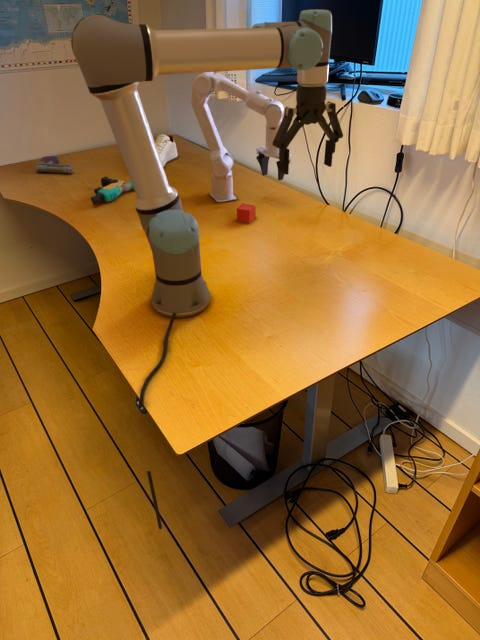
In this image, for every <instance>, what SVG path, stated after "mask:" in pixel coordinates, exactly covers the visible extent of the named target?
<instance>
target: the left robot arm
mask: <svg viewBox="0 0 480 640" xmlns="http://www.w3.org/2000/svg"><path fill="white" fill-rule="evenodd" d="M332 34H333V15H332V12H331V10H328V9H306V10H305V9H304V10H301V11H300V13H299V18H298V20H295V21H275V22H273V21H271V22H270V21H269V22H268V21H264V22H259V23H255V24H253V25H252V26H251V27H242V28H240V27H238V28H237V27H236V28H200V29H197V28H196V29H158V30H157V29H156V30H155V29H153V28H151V27H150V26H149V25H148V24H145V23H144V24H140V23H139V24H134V23H126V22H121V21H117V20H116V19H115V18H113V17H112V16H110V15H107V14H103V13H98V12H97V13H89V14H88V15H85V16H83V17H82V18H80V19H79V20H77V22H76V24H75V25H74V27H73V29H72V32H71V36H70V45H71V51H72V54H73V55H74V58H75V60H76V62H77V65H78V67H79V69H80V71H81V74H82V77H83V79H84V82H85V84H86V86H87V89H88V93H89V94H90V95H91V96H92V97H95V98H96V99H98V100H99V101H100V103H101V106H102V109H103V111H104V114H105V117H106V119H107V123H108V124H109V127H110V129H111V132H112V134H113V137H114V140H115V143H116V145H117V148H118V150H119V152H120V155H121V158H122V161H123V163H124V166H125V169H126V171H127V173H128V176H129V179H130V181H132V184H133V187H134V189H135V190H134V192H135V194H136V198H135V200H134V202H133V205H134V209H135V210H136V213H137V216H138V218H139V221H140V225H141V227H142V229H143V231H144V234H145V236H146V239H147V241H148V245H149V247H150V250H151V253H152V260H153V261H152V262H153V268H154V274H155V275H154V276H155V281H154V284H153V290H152V294H151V305H152V308H153V310H154V311H155V312H156V313H157V314H159V315H160V316H163V317H167V318H170V320H169V323H168V327H167V329H166V332H165V335H164V340H163V349H162V350H163V351H162V355H161V358H160V360H159V362H158V363H157V365H155V367H154V368H153V369H152V371H151V372H150V373H149V374H148V375H147V377H146V378H145V380H144V383H143V384H142V387H141V389H140V392H139V394H140V395H139V401H138V407H139V409H142V408H143V407H144V399H145V392H146V389H147V387H148V384H149V382H150V381H151V379H152V378H153V376H154V375H155V374H156V373H157V372H158V371H159V369H160V368H161V367H162V365H163V363H164V362H165V359H166V356H167V352H168V341H169V336H170V333H171V330H172V328H173V325H174V322H175V319H183V318H185V319H186V318H190V317H194V316H196V315H199V314H201V313H202V312H204V311H205V310H207V308H208V307H209V306H210V303H211V294H210V290H209V288H208V284H207V282H206V280H205V278H204V277H203V275H202V262H201V261H202V259H201V247H200V244H201V243H200V235H201V234H200V228H199V225H198V221H197V219H196V218H195V217H194V216H193V215H192V214H191V213H189V212H185V210H184V208H183V204H182V201H181V198H180V196H179V192H178V190H177V189H176V188H175V187H173V186H170V184H169V181H168V177H167V174H166V172H165V169H164V167H163V166H162V163H161V160H160V157H159V154H158V151H157V148H156V145H155V139H154V136H153V132H152V130H151V127H150V123H149V121H148V118H147V115H146V112H145V108H144V106H143V103H142V100H141V97H140V94H139V91H138V86H139V84H140V83H144V82H153V81H154V80H155V79H156V78H157V76H160V75H161V76H164V75H165V76H166V75H179V74H181V75H182V74H202V73H203V72H215V73H218V72H234V71H235V72H236V71H237V72H238V71H252V70H253V71H254V70H271V69H273V70H274V69H279V70H280V69H281V70H282V69H294V70H296V71H297V73H296V74H297V75H296V82H297V83H298V84H297V86H296V91H295V92H296V95H295V102H296V104H295V107H289V106H285V107H284V113H283V117H282V122H281V124H280V127H279V129H278V131H277V134H276V136H275V138H274V141H273V143H272V144H273V146H275V147H277V148H279V159H278V161H279V160H280V161H281V172H283V173H284V175H289V169H290V163H289V155H290V149H289V148H288V147H289V146H290V145H291V143H292V141H293V140H294V139H295V137H296V136H297V134H298V132H299V131H300V130H301V129H302V128H303V127H304V126H308V125H310V124H312V125H314V124H315V125H316V124H318V125H319V126H320V128H321V129H322V131H323V132H324V135H326V137H327V139H326V140H325V147H324V156H323V157H324V158H323V164H324V165H325V166H327V167H329V168H330V167H333V166H332V165H333V154H335V152H336V147H337V143H338V142H339V141H340V139H343V137H344V132H343V130H342V126H341V124H340V120H339V117H338V115H337V108H336V107H337V105H336V103H335V102H333V101H330V100H328V101H327V102H326V100H327V93H328V86H327V83H328V82H329V69H330V68H329V67H330V55H331V54H330V53H331V44H332V43H331V41H332ZM325 112H326V114H327V117H328V119H329V123H330V125H329V123H328V122H327V119H326V118H325V116H324V113H325ZM295 115H296V116H295ZM146 475H147V480H148V484H149V488H150V494H151V497H152V502H153V507H154V511H155V516H156V521H157V526H158V530H162V529H163V525H162V521H161V515H160V511H159V505H158V501H157V496H156V492H155V491H156V490H155V485H154V481H153V477H152V472H151V470H146Z"/></svg>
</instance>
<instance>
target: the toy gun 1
mask: <svg viewBox="0 0 480 640" xmlns="http://www.w3.org/2000/svg"><path fill="white" fill-rule="evenodd" d="M34 170H35V171H37V172H39V173H41V172H43V173H54V174H55V173H56V174H73V170H74V165H71V164H66V163H65V164H63V163H62V164H61V163H60V158H59V156H58V155H45V156H43V157H41V159H40V162H36V165H35V167H34Z"/></svg>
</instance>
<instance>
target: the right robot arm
mask: <svg viewBox="0 0 480 640" xmlns="http://www.w3.org/2000/svg"><path fill="white" fill-rule="evenodd" d="M218 92H225V93H226V94H229V95H231V96H233V97H235V98H237V99H239V100H242V101H243V102H244V104H245V107H246V108H248V109H250V110H252V111H254V112H256V113H258V114H259V115H261V116H264V118H265V120H266V121H265V122H266V123H265V147H256V149H255V150H256V152H255V153H256V155H257V156H256V157H255V158H256V160H257V162H258V164H259V167H260V170H261V176H263V177H264V176H267V175H268V172H269V161H270V158H273V159H277V161H275V163H276V167H277V180H278V181H282V180H284V177H285V174H284V173H283V172H281V161H280V160H279V148H277V147H275V146H273V144H272V143H273V141H274V138H275V136H276V134H277V131H278V129H279V127H280V124H281V122H282V119H283V117H282V116H284V111H285V107H284V104H283V103H282V102H280V101H279V100H278V99H274V98H272V97H270V98H269V97H268V96H267V95H264V94H262V91H261V90H260V89H257V90H255V89H252V90H250V91H249V90H247V89H245V88H244V87H242V86H240V85H239V84H237V83H236V82H234V81H232V80H230V79H229V78H228V77H226V76H224V75H223V74H221V73H218V72H201V73H198V75H196V76H195V78H194V79H193V81H192V83H191V100H190V103H191V107H192V110H193V112H194V115H195V117H196V120H197V122H198V125H199V128H200V130H201V132H202V136H203V137H204V140H205V143H206V145H207V148H208V150H209V154H210V156H209V157H210V158H209V160H210V161H209V162H210V163H211V172H212V176H211V181H210V182H211V192H210V193H209V195H210V197H211V198H213V199H214V200H215V202H216V203H224V202H231V201H236V200H237V199H238V198H237V196H235V195H234V178H233V177H234V176H233V175H234V173H233V171H232V168H233V167H234V159H233V156H231V154H230V153H229V151H228V150H227V148H225V146H224V144H223V142H222V139H221V137H220V134H219V131H218V128H217V126H216V124H215V120H214V118H213V116H212V113H211V109H210V107H209V104H208V101H209V99H210V98H211V95H212V93H218ZM291 162H292V155H291V154H289V164H290V163H291Z"/></svg>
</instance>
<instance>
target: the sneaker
mask: <svg viewBox="0 0 480 640" xmlns="http://www.w3.org/2000/svg"><path fill="white" fill-rule="evenodd" d="M154 142H155V145H156V148H157V151H158V154H159V157H160V160H161V163H162V166H163V168H164V167H165V166H166V164H167V163H168V162H170V161H172V160H175V159H176V158H177V157H178V156H179V155H178V149H177V144H176V140H175V136H174V135H173V134H164V133H161V134H158V135H157V137H156V139H154Z"/></svg>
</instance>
